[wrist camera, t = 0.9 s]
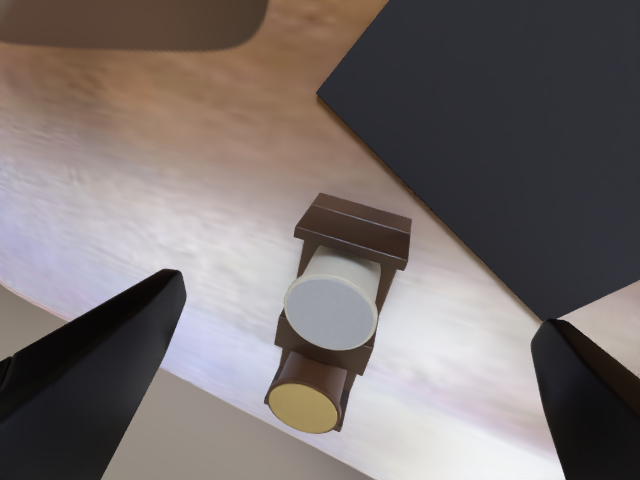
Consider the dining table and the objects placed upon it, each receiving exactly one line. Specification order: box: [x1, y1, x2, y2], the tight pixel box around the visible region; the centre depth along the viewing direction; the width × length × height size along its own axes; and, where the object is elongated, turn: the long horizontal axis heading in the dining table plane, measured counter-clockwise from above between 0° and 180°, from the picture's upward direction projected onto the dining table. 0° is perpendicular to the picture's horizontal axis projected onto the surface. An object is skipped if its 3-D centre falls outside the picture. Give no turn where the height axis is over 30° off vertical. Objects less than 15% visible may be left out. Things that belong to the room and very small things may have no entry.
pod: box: [267, 351, 347, 434], centre depth 24 cm, size 5×5×5 cm
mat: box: [316, 0, 640, 322], centre depth 18 cm, size 20×12×1 cm, turn 49°
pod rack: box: [264, 193, 412, 432], centre depth 24 cm, size 6×16×5 cm, turn 169°
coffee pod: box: [284, 245, 381, 350], centre depth 20 cm, size 5×5×5 cm
